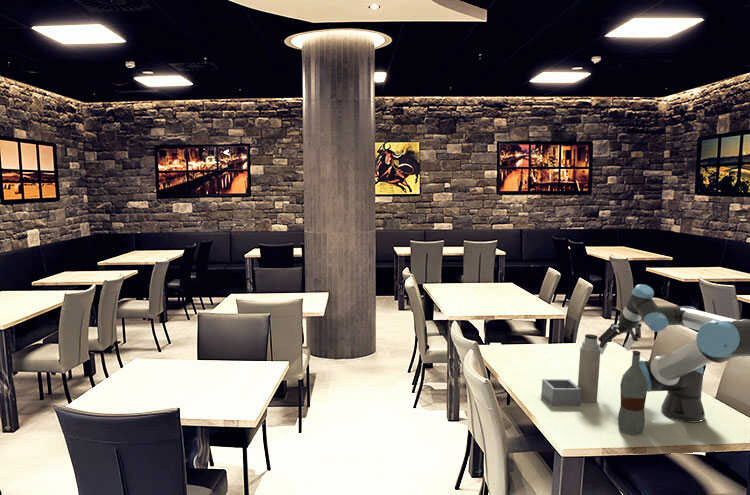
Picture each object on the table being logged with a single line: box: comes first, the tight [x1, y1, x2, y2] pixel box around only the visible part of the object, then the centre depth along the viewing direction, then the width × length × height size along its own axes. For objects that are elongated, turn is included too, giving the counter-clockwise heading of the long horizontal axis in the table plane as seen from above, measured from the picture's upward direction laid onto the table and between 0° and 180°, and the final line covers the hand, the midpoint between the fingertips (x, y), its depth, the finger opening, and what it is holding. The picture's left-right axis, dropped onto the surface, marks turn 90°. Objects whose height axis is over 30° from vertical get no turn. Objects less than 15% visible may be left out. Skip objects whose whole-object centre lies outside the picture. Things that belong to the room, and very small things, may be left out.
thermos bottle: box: [577, 333, 601, 404], centre depth 230 cm, size 8×8×28 cm
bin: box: [541, 378, 582, 407], centre depth 230 cm, size 12×12×7 cm
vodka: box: [617, 350, 648, 436], centre depth 200 cm, size 9×9×30 cm
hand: (613, 350), depth 243 cm, fingers open, 13 cm apart
